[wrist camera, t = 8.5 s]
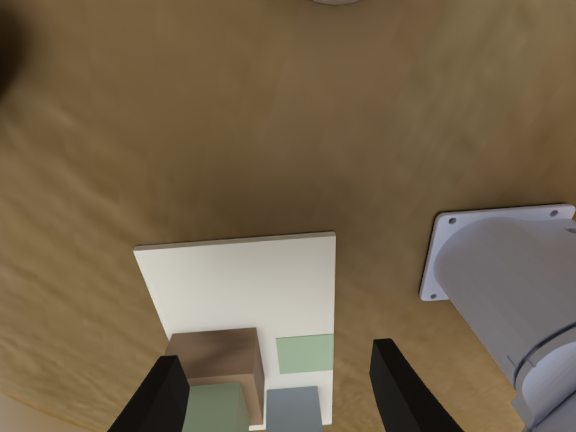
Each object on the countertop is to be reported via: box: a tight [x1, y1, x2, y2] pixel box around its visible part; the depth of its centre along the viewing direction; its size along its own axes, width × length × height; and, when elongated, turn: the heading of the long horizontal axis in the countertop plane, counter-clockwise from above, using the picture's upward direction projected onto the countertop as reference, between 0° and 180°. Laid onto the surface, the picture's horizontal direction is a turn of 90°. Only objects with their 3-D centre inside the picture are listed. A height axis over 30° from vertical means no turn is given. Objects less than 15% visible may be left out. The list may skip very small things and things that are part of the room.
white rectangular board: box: [133, 231, 336, 431], centre depth 26 cm, size 14×25×1 cm, turn 4°
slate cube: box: [266, 386, 323, 432], centre depth 27 cm, size 5×5×5 cm
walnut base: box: [164, 327, 265, 426], centre depth 24 cm, size 7×7×4 cm
